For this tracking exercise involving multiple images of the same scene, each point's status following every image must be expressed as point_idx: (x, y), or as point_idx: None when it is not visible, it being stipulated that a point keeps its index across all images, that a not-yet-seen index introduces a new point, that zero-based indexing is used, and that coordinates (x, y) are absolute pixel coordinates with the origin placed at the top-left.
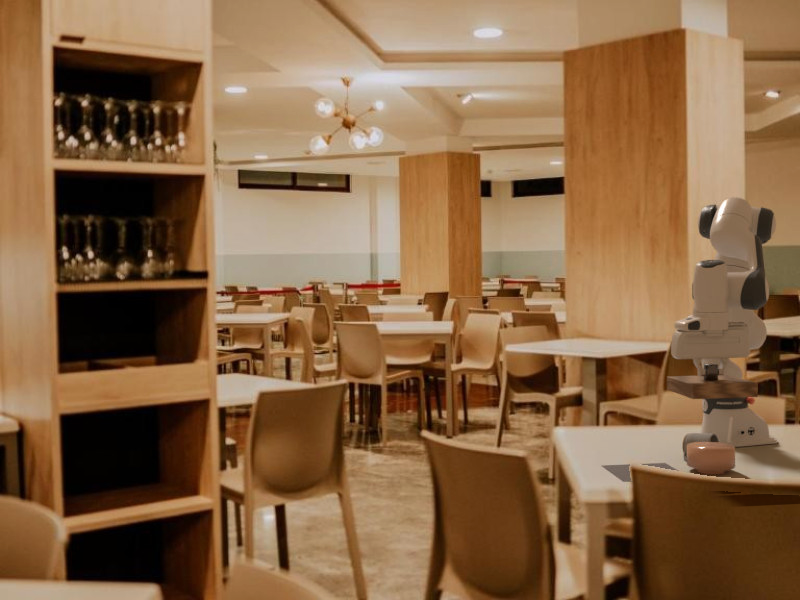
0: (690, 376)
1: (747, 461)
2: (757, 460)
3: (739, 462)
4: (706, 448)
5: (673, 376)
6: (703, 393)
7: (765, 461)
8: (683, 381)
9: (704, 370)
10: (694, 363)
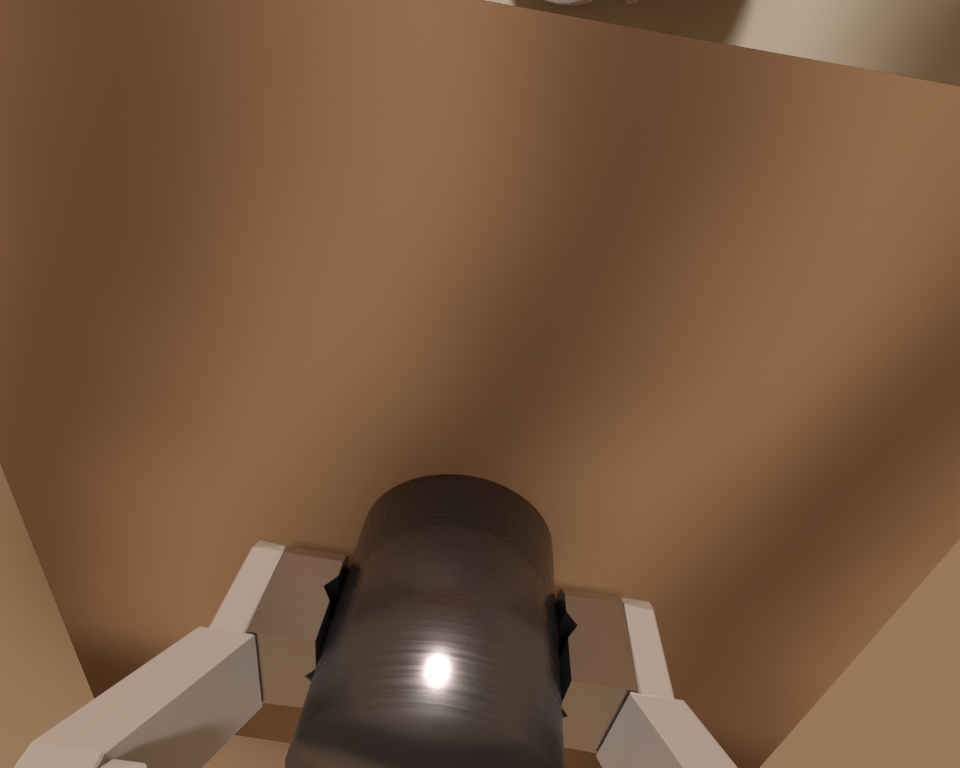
0: (330, 108)
1: (868, 28)
2: (943, 23)
3: (805, 37)
4: None
5: None
6: None
7: (956, 67)
8: (51, 536)
9: (302, 688)
10: (71, 742)
